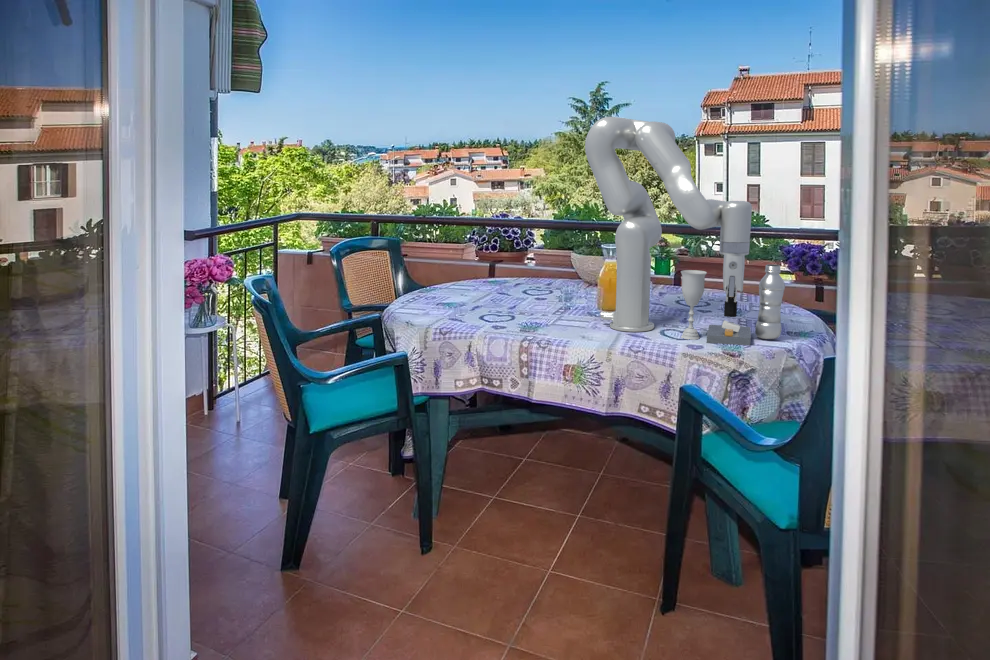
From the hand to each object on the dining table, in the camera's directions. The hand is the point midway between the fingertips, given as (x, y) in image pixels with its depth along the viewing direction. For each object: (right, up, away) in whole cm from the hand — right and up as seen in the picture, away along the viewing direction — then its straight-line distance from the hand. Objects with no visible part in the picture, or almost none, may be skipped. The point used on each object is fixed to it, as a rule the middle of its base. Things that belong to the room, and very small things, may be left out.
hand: (730, 316), depth 205 cm
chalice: (-10, -6, +3) cm, 12 cm away
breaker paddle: (0, -4, +1) cm, 4 cm away
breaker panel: (0, -6, +1) cm, 6 cm away
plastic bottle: (+10, -6, 0) cm, 12 cm away
